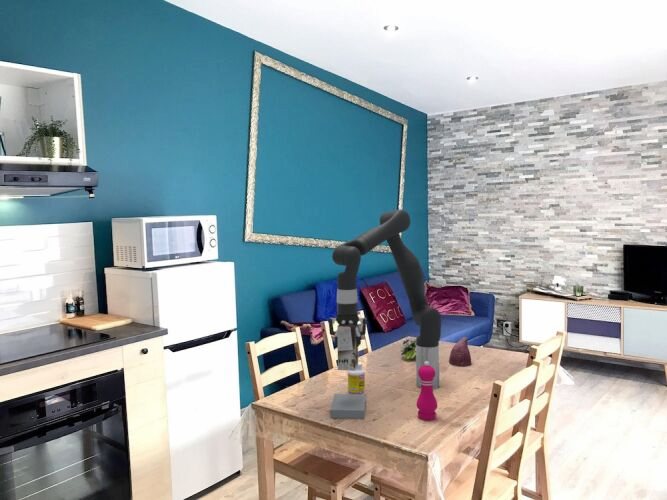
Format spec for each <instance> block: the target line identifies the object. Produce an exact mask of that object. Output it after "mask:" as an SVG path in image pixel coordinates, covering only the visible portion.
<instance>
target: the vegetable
mask: <svg viewBox="0 0 667 500" xmlns="http://www.w3.org/2000/svg"><path fill="white" fill-rule="evenodd" d="M471 357H472V356H471V352H470V349H469V346H468V337H467V336H463V337H461V339H460V340H459V341H458V342H456V343H455V344H454V345H453V347H452V349H451V350H450V354H449V359H448V363H449V364H450V365H451V366H454V367H460V368H466V367H469V366H471V365H472V358H471Z"/></svg>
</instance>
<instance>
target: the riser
mask: <svg viewBox="0 0 667 500" xmlns="http://www.w3.org/2000/svg"><path fill="white" fill-rule="evenodd" d="M332 398H333V399H332V402H331V404H330V405H331V406H330V409H329V413H330V414H329V417H330V418H329V419H350V420H351V419H353V420H359V419H360V420H364V419H365V414H366V406H367V405H366V404H367V396H366V393H365V394H348V393H334V395H333V397H332Z"/></svg>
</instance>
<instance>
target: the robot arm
mask: <svg viewBox="0 0 667 500" xmlns="http://www.w3.org/2000/svg"><path fill="white" fill-rule="evenodd" d="M410 226H411V217H410V214H409V213H408V211H406V210H404V209H395V210H389V211H387V212H383V213H382V214H381V215H380V216H379V225H378V226H375V227H373V228H371V229H369V230H367V231H364V232H363V233H361V234H359V235H358V236H357V237H355V238H354V239H352V240H349V241H346V242H343V243H342V244H339V245H337V246H336V247H335V248H334V250H333V251H332V254H331V255H332V256H331V258H332V260H333V263H334V264H336V265H338V266H344V267H345V268H344V271H343V272H339V273H338V274H337V277H336V280H337V281H336V282H337V283H336V284H337V286H336V287H337V288H336V289H337V291H336V317H329V318H328V328H329V335H331V336H334V344H335V346H336V347H337V348H338V340H337V339H338V338H337V330H336V331H335V330H334V324H335V322H336V323H337V324H338V325H344V324H350V325H354V324H357V323H358V324H359V322H360V324H361V325H362V329H361V331H360V329H359V327H357V328H356V334H357V347H358V348H359V347H360V346H361V344H362V340H361V339H362V336H365V335H366V329H367V317H365V316H364V317H359V314H358V313H359V311H358V310H359V309H358V289H357V285H358V284H357V283H358V282H357V281H358V280H357V278H358V277H357V276H358V274H359V273H358V272H359V268H360V265H361V261H362V256H365V255H367V254H368V253H369V252H371V251H372V250H374V249H375V248H377V247H378V246H379V245H381V244H382V243H384V242H387V244H388V247H389V249H390V251H391V254H392V257H393V260H394V262H395V265H396V268H397V271H398V274H399V277H400V280H401V282H402V285H403V288H404V291H405V294H406V296H407V299H408V302H409V306H410V307H409V308H410V311H411V315H412V319H413V322H414V323H415V325H417V326H418V327H420V328H419V335H418V336H417V337H416V348H415V351H416V355H415V369H416V370H415V371H416V372H415V373H416V374H415V377H416V378H415V379H416V380H415V381H416V384H415V385H416V386H417V387H418V388H420V389H421V384H420V377H419V375H418V370H419V368H420V367H421V366H424V362H425V361H428V362H429V366H432V367H433V368H434V369H435V377H434V378H433V379H434V384H433V389H439V388H440V362H439V360H440V359H439V358H440V357H439V355H440V354H439V349H440V348H439V345H440V344H439V343H440V342H439V341H440V340H441V332H442V318H441V317H442V316H441V313H440V311H439V310H438V309H436V307H435V308H434V307H432V306H430V305H429V303H428V301H427V298H426V294H425V292H424V281H425V280H424V279H425V278H424V273H423V270H422V267H421V264H420V261H419V259H418V257H417V256H416V255H415V254H414V253H413V252H412V251H411V250H410V249H409V248H408V247H407V246H406V244H405V243H404V241H403V240H402V238H401V235H400V233H404V232H405V231H407V230H408V229H409V228H410Z"/></svg>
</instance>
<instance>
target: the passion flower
mask: <svg viewBox="0 0 667 500" xmlns="http://www.w3.org/2000/svg"><path fill="white" fill-rule="evenodd" d="M400 356H403V360H404V361H408V360H412V359H413V358H415V357H416V339H413V340H410V339H406V340H403V343H402V347H401V349H400Z"/></svg>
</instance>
